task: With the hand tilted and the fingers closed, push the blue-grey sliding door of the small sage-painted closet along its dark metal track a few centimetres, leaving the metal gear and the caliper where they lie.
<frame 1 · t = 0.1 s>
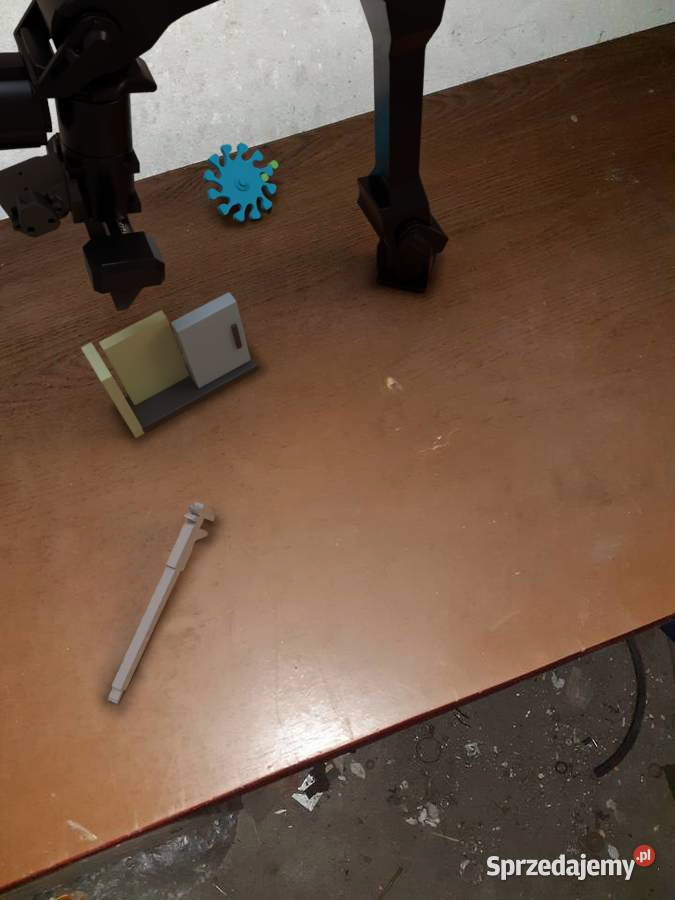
hand: (109, 276, 70), 15 cm above the table, tool pointing down, fingers open, 9 cm apart
closet door: (214, 343, 76), point 7 cm above the table, slide at 0.0 cm
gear: (247, 203, 96), on the table
caliper: (166, 604, 70), on the table
closet frame: (194, 385, 82), on the table
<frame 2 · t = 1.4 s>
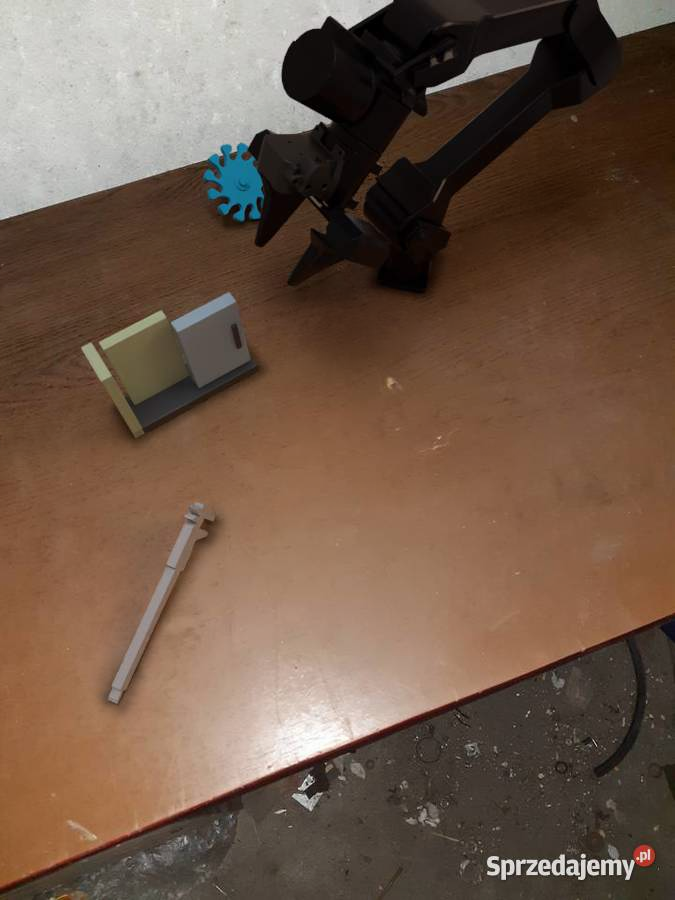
hand: (273, 265, 74), 13 cm above the table, tool tilted 45°, fingers open, 6 cm apart
nothing on the table moved.
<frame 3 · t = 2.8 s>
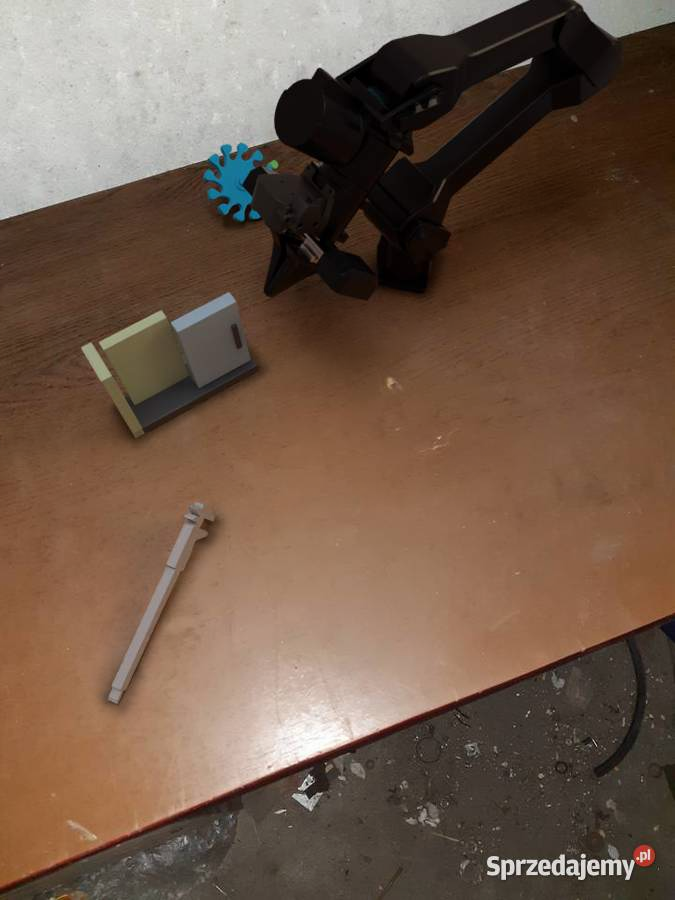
hand: (267, 295, 77), 9 cm above the table, tool tilted 45°, fingers closed
nothing on the table moved.
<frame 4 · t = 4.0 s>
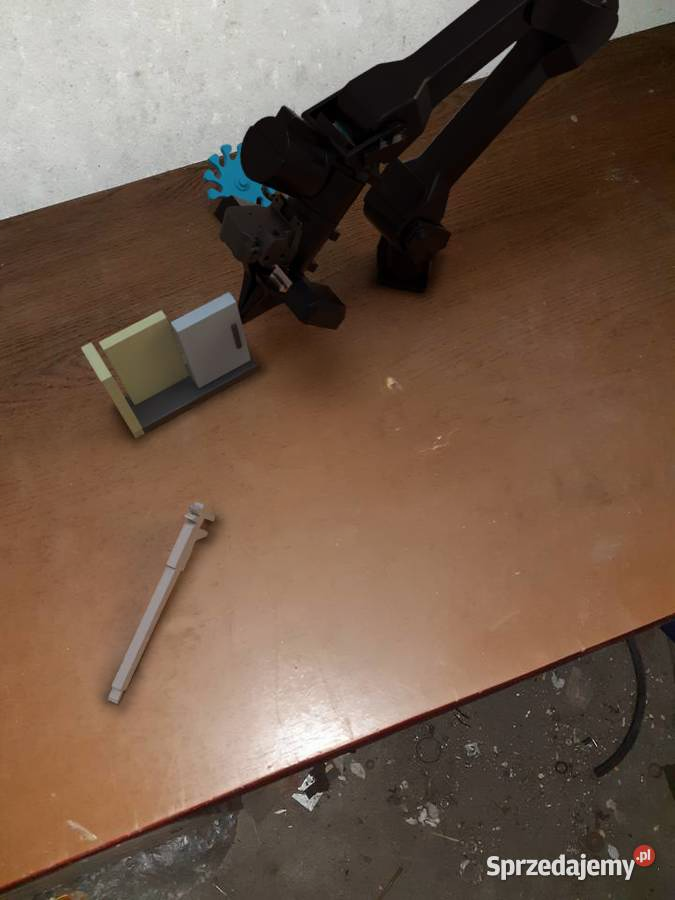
hand: (239, 322, 78), 7 cm above the table, tool tilted 45°, fingers closed
closet door: (214, 343, 76), point 7 cm above the table, slide at 0.0 cm, touching gripper
everything else where it was.
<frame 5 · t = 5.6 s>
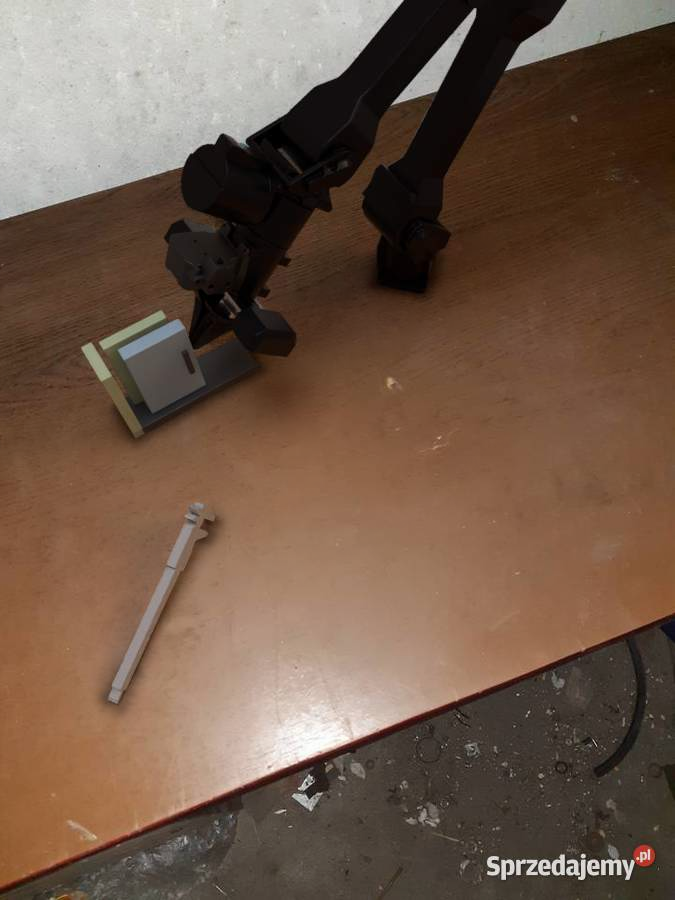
hand: (191, 347, 76), 7 cm above the table, tool tilted 45°, fingers closed
closet door: (165, 369, 75), point 7 cm above the table, slide at 6.0 cm, touching gripper
everything else where it was.
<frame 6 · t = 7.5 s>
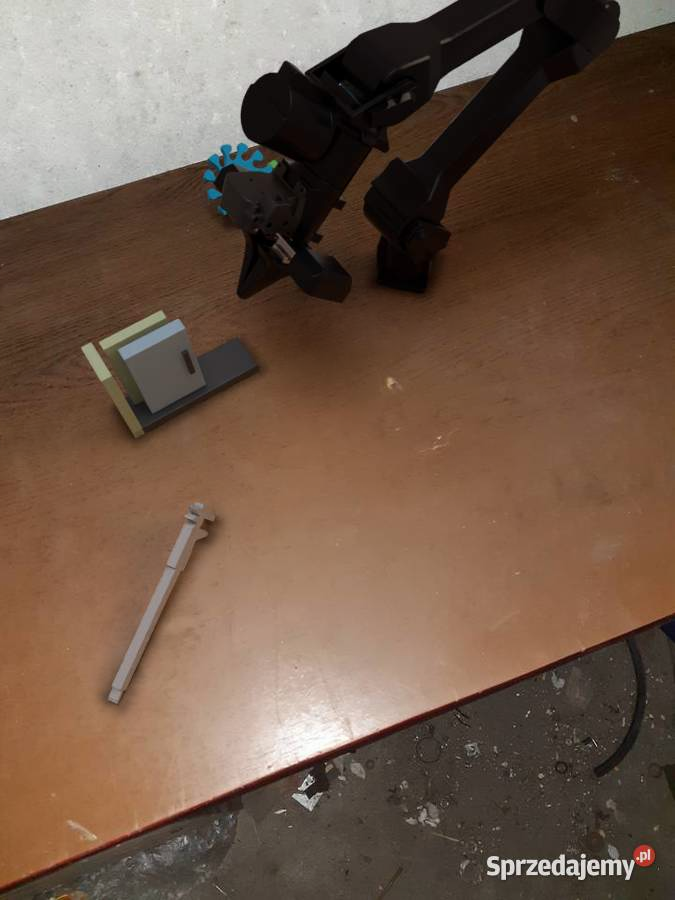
hand: (240, 296, 75), 10 cm above the table, tool tilted 45°, fingers closed
closet door: (165, 369, 75), point 7 cm above the table, slide at 6.0 cm
everything else where it was.
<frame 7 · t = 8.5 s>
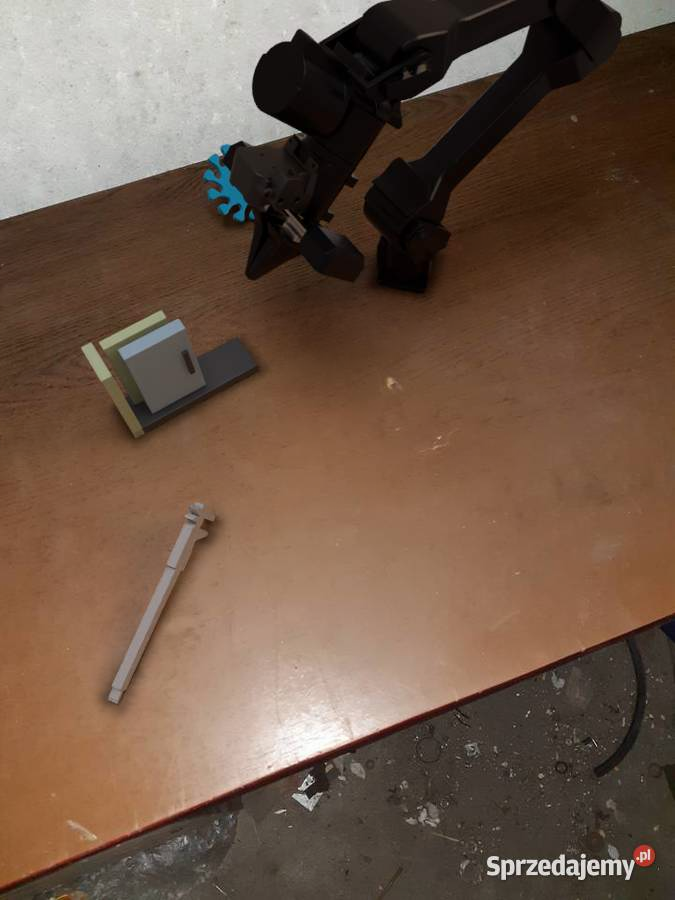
hand: (249, 277, 73), 13 cm above the table, tool tilted 45°, fingers closed
nothing on the table moved.
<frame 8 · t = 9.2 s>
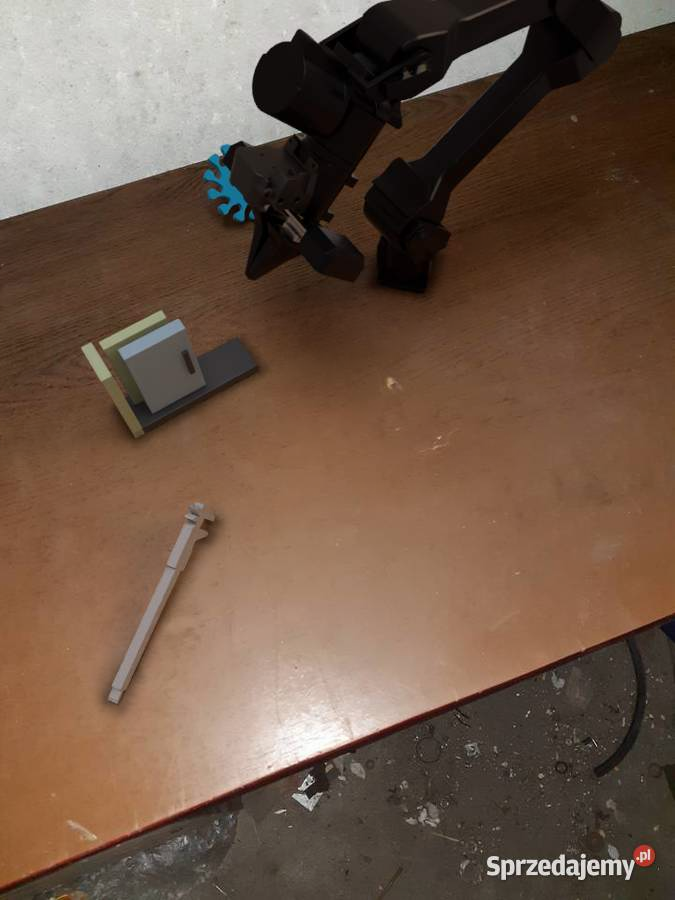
hand: (249, 277, 73), 13 cm above the table, tool tilted 45°, fingers closed
nothing on the table moved.
at the end: closet door slide at 6.0 cm; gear moved 0.2 cm from its start; caliper moved 0.2 cm from its start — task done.
